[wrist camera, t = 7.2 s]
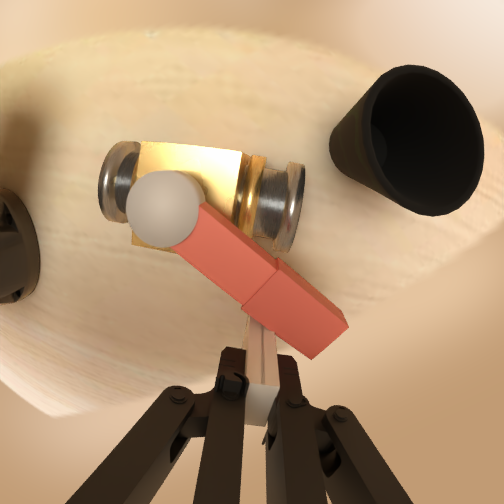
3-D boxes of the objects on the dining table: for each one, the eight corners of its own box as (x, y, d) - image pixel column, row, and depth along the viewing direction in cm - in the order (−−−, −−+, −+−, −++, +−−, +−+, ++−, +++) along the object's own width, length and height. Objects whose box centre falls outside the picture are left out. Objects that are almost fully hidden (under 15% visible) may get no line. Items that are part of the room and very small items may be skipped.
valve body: (133, 213, 25) (70, 241, 15) (141, 143, 23) (76, 136, 13) (283, 239, 25) (292, 285, 15) (298, 164, 23) (319, 163, 13)
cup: (406, 181, 22) (493, 199, 11) (331, 201, 23) (385, 234, 12) (383, 99, 20) (461, 63, 9) (305, 115, 21) (339, 71, 10)
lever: (131, 209, 14) (113, 215, 13) (167, 156, 14) (153, 155, 12) (303, 345, 16) (306, 365, 15) (346, 306, 16) (355, 323, 14)
